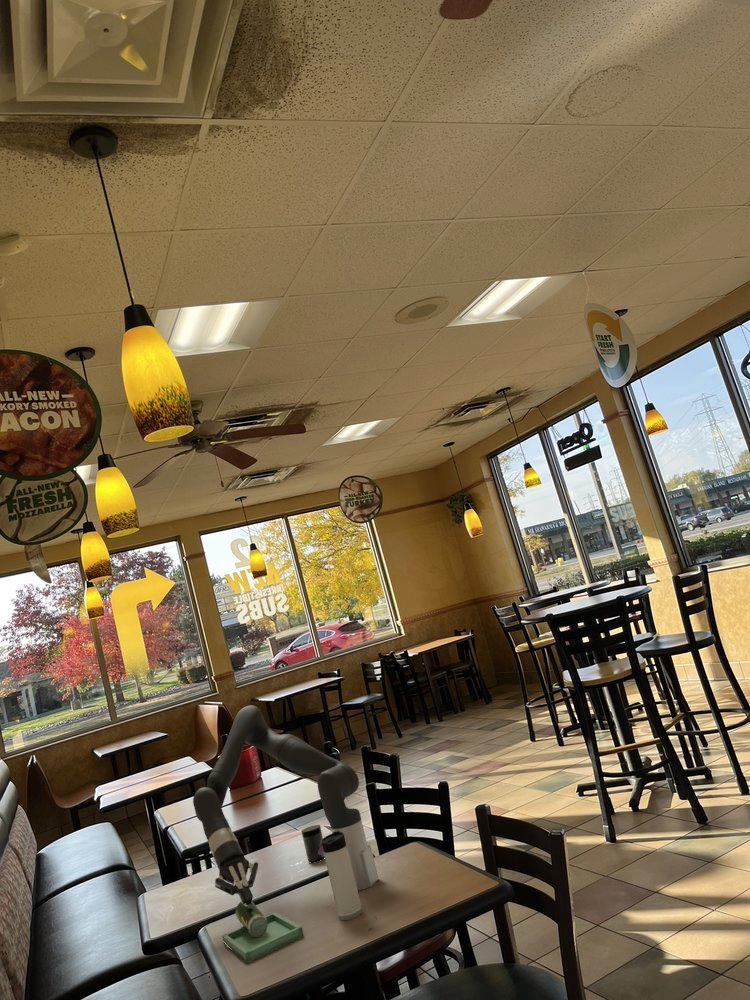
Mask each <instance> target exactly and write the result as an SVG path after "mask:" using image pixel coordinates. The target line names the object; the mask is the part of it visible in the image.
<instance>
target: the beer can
mask: <svg viewBox="0 0 750 1000" xmlns="http://www.w3.org/2000/svg"><path fill="white" fill-rule="evenodd" d="M235 916H236V919H238V921H239V922H240V923H241V925H242V927H243V926H244V927H245V929H246V930H247V931H248V933H249V934H250V935H251V936H254V937H260V936H262V935H263V934H264V933H265V932H266V930H267V927H268V923H267V919H266V917H265V915H264V914H263V912H262V911H261V910H260V909H259V908H258V907H257V905H256V904H255V903H254V902H253V901H252V902H251V904H248V905H246V904H243V903H242V901H241V900H240V901H239V902H238V904H237V905H236V908H235Z"/></svg>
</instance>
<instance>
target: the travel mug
mask: <svg viewBox="0 0 750 1000" xmlns="http://www.w3.org/2000/svg"><path fill="white" fill-rule="evenodd" d="M321 842H322V847H323V851H324V856H325V859H324V860H325V864H326V868H327V873H328V876H329V881H330V887H331V890H332V895H333V898H334V902H335V907H336V911H337V915H338V919H339V920H340V921H350V920H353V919H355V918H358V917H359V916H360V915H362V913H363V908H362V905H361V900H360V895H359V890H357V886H356V882H355V878H354V874H353V870H352V865H351V861H350V857H349V853H348V849H347V845H346V842H345V837H344V833H343V832H340V831H335V832H333V833H332V832H331V833H330V834H328V835H326V836H324V837H323V839H322V841H321Z"/></svg>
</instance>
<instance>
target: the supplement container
mask: <svg viewBox="0 0 750 1000" xmlns="http://www.w3.org/2000/svg"><path fill="white" fill-rule="evenodd" d="M301 837H302V840H303V844H304V849H305V853H306V857H307V861H308V863H310V862H311V863H310V864H315V863H314V862H317V861H320V860H322V861H324V860H325V859H324V858H325V856H324V851H323V847H322V842H321V841H322V839H323V838H324V836H323V832H322V828H321V825H320V824H314V825H311V826H308V827H305V828H304V829H302V830H301ZM323 859H324V860H323ZM320 862H321V861H320ZM317 863H318V862H317Z"/></svg>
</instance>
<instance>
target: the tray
mask: <svg viewBox="0 0 750 1000" xmlns="http://www.w3.org/2000/svg"><path fill="white" fill-rule="evenodd" d="M264 916H265V915H264ZM265 917H266V919H267V923H268V927H267V930H266V932H265V933H264V934H263V935H262V936H260V937H254V936H251V935H250V934H249V933H248V931H247V930H246V929H245V927H244V926H243V925H242V926H241V927H239V928H236V929H234V930H231V931H230V932H227V933H226V934H223V935H221V937H222V941H224V942H225V943H226V944H227V945H228V946H229V947H230V948H231V949H232V950H233V951H234V952H235V953H236V954H235V953H234V952H233V951H232V950H231V951H232V952H233V953H234V954H235V955H236V956H238V957H239V958H240V959H241V960H243V961H244V962H245V963H247V964H249V963H251V962H253V961H255V960H257V959H259V958H261V957H263V956H265V955H268V954H270V953H272V952H274V951H276V950H278V949H280V948H282V947H284V946H287V945H288V944H290V943H293V942H295V941H297V940H299V939H301V938H303V937H305V935H304V930H303V927H302V926H301V925H299V924H298V923H296V922H294V921H292V920H291V919H288V918H286V917H284V916H282V915H281V914H279V913H277V912H275V911H274V912H272V913H270V914H268V915H266V916H265ZM224 942H223V943H224Z"/></svg>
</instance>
